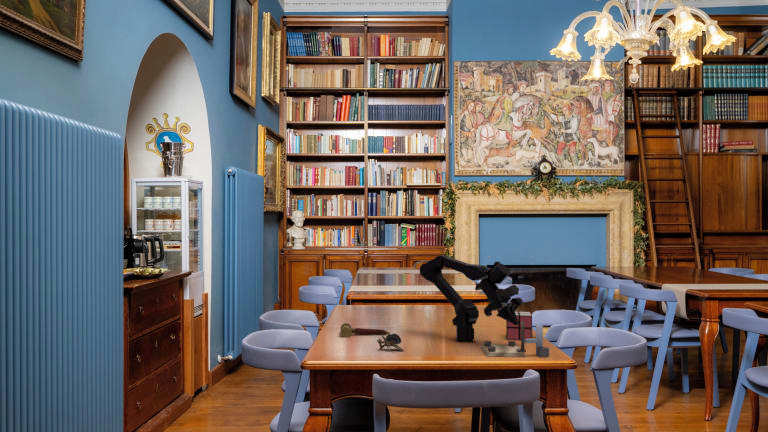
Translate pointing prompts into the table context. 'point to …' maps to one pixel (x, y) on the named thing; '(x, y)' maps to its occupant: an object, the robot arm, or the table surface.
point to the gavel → (360, 331)
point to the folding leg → (537, 337)
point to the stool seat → (505, 347)
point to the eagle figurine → (390, 342)
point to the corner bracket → (542, 351)
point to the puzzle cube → (515, 330)
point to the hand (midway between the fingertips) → (517, 324)
